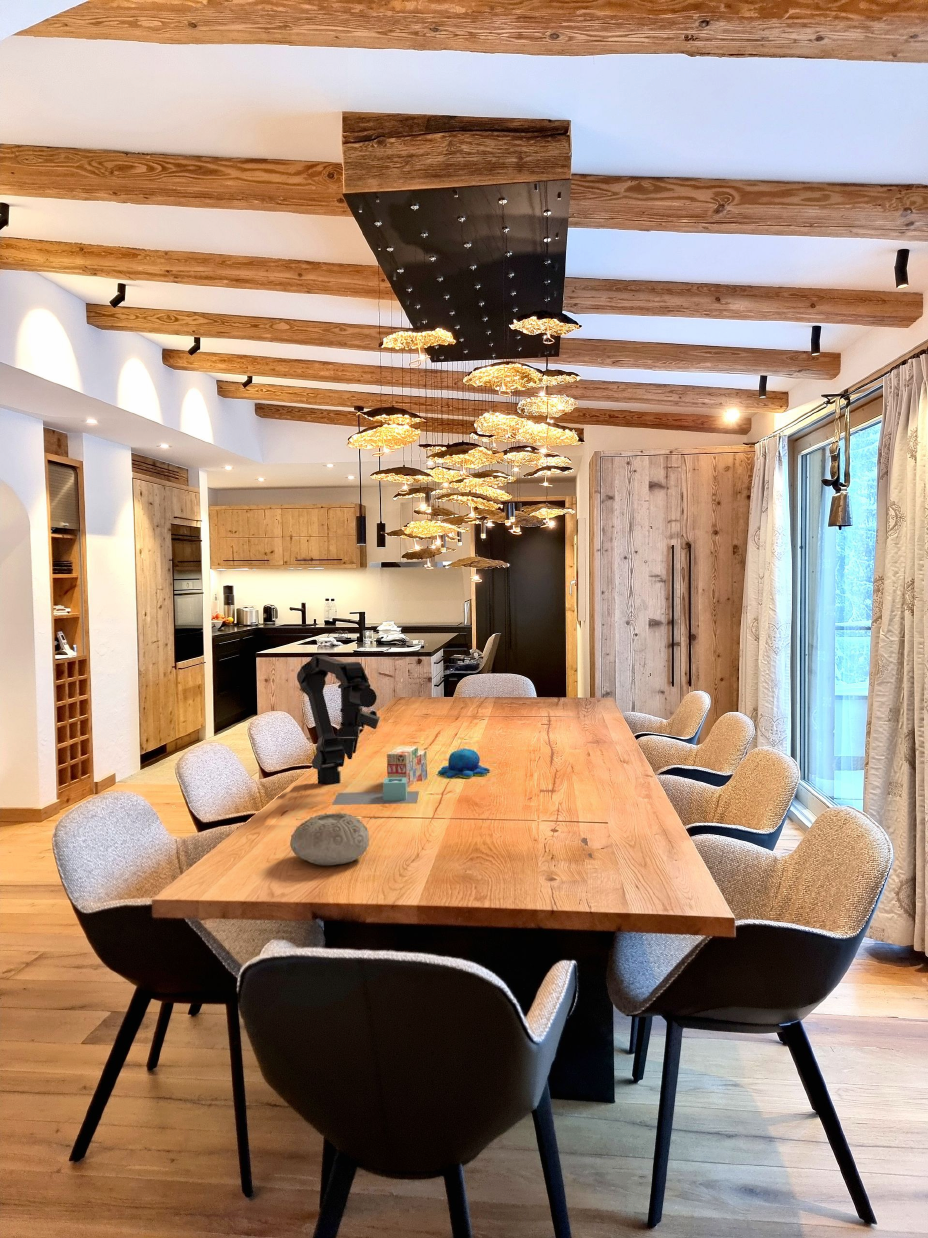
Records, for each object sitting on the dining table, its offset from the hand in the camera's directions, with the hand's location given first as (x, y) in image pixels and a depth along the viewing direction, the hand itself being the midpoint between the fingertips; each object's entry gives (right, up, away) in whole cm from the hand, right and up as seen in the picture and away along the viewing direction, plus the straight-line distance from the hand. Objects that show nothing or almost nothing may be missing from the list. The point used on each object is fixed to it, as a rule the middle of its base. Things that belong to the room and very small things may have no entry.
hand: (351, 756), depth 256 cm
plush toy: (+33, -11, +30) cm, 46 cm away
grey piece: (+8, -12, -8) cm, 17 cm away
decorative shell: (+3, -15, -59) cm, 61 cm away
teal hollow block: (+14, -11, -8) cm, 19 cm away
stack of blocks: (+16, -12, +13) cm, 24 cm away
